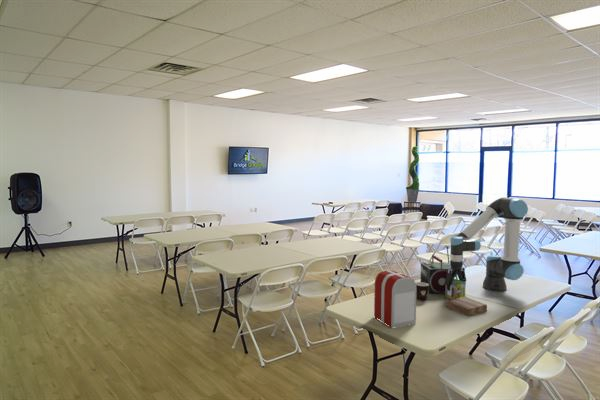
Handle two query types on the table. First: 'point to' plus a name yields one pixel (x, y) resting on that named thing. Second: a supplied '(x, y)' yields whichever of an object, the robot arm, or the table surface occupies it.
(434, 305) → the table surface
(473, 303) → the walnut base
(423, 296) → the coffee mug
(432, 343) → the table surface
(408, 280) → the red white striped case
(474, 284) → the table surface
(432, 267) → the boombox
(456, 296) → the chalk box
